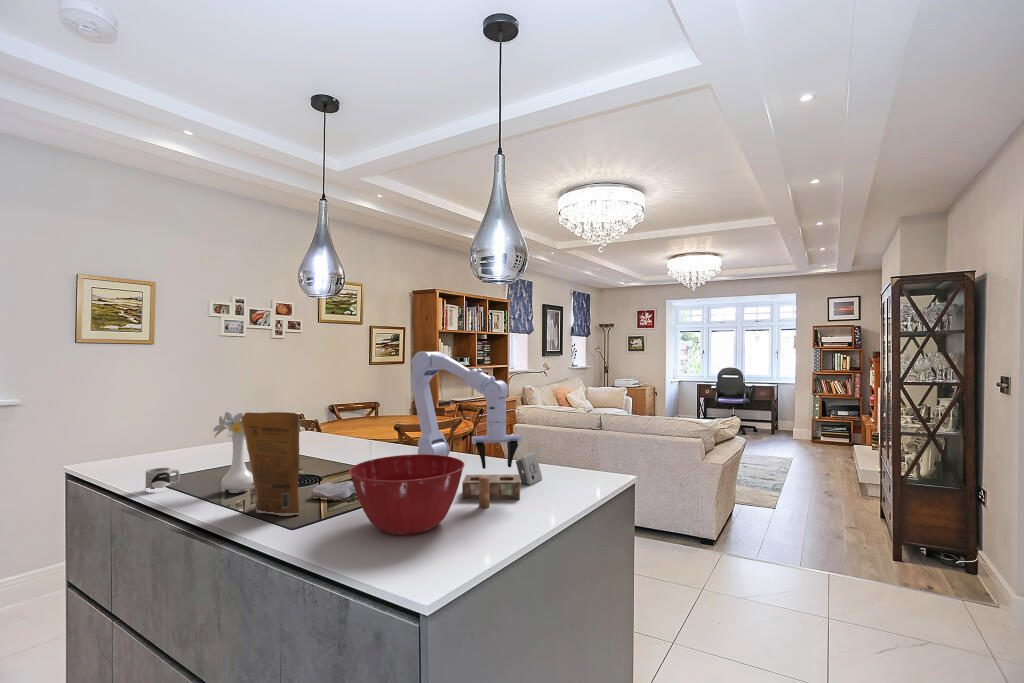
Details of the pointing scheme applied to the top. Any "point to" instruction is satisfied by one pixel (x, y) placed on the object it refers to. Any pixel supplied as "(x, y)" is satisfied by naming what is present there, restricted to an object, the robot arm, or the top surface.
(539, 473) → the electrical switch
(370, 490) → the mixing bowl
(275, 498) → the pancake mix bag
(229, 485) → the flower vase
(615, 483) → the top surface
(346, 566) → the top surface
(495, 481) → the socket block
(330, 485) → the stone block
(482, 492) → the peg
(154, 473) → the mug
